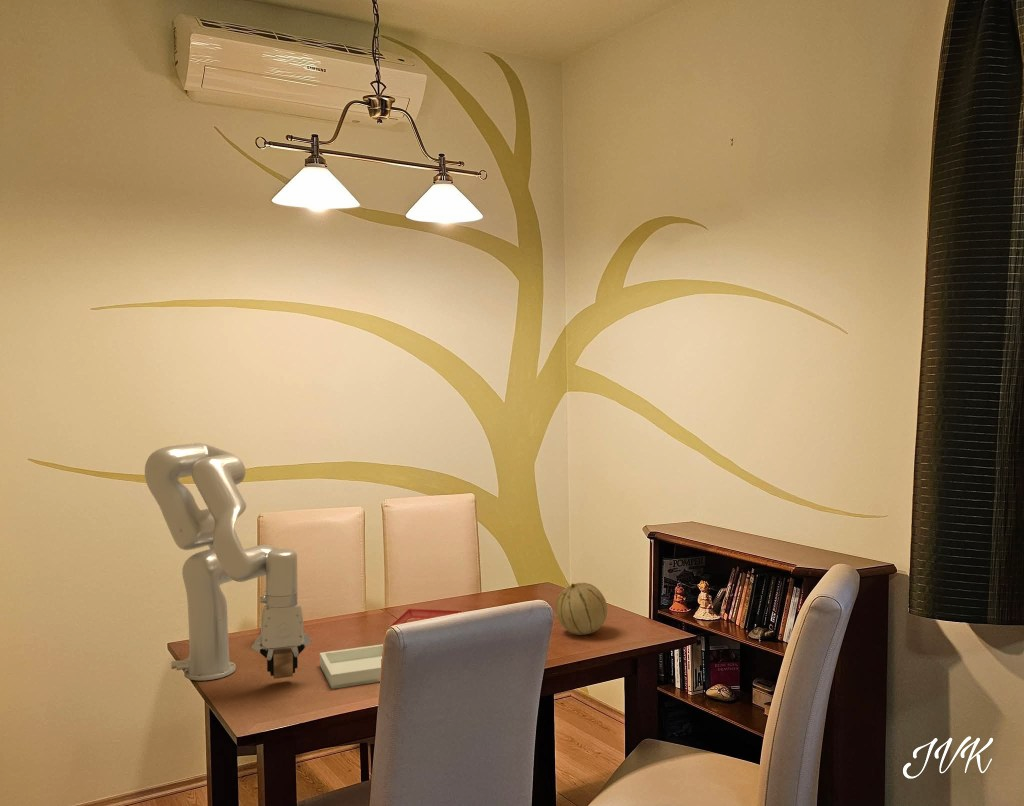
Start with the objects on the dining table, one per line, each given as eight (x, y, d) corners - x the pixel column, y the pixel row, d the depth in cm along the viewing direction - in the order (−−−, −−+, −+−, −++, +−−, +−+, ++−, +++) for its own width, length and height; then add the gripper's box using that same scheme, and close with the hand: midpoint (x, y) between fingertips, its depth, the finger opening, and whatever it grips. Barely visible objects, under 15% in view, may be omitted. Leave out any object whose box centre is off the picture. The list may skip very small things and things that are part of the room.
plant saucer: (448, 639, 252) (448, 628, 252) (388, 636, 256) (388, 625, 256) (464, 621, 270) (464, 610, 270) (408, 619, 273) (408, 608, 273)
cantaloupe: (618, 633, 253) (617, 581, 252) (583, 645, 243) (582, 591, 242) (580, 622, 264) (579, 573, 263) (545, 633, 254) (544, 582, 253)
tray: (331, 689, 214) (331, 674, 214) (320, 666, 231) (319, 652, 230) (404, 678, 220) (403, 664, 220) (387, 656, 237) (387, 643, 237)
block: (274, 678, 215) (273, 654, 215) (272, 672, 219) (271, 648, 219) (292, 676, 217) (292, 652, 216) (290, 670, 221) (290, 646, 220)
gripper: (247, 607, 210) (248, 682, 211) (318, 600, 216) (319, 673, 217) (244, 599, 217) (245, 671, 218) (314, 593, 223) (314, 663, 224)
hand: (282, 671), depth 218 cm, fingers closed on block, 4 cm apart
